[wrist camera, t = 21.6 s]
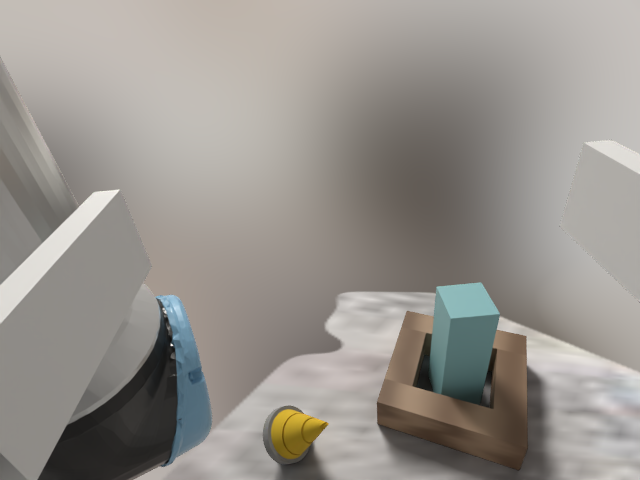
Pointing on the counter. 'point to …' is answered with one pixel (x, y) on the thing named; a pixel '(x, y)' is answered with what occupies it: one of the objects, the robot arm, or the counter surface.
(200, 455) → the counter surface
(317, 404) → the counter surface
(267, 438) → the yellow grooved cone
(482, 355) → the teal peg
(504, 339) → the block
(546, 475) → the counter surface
